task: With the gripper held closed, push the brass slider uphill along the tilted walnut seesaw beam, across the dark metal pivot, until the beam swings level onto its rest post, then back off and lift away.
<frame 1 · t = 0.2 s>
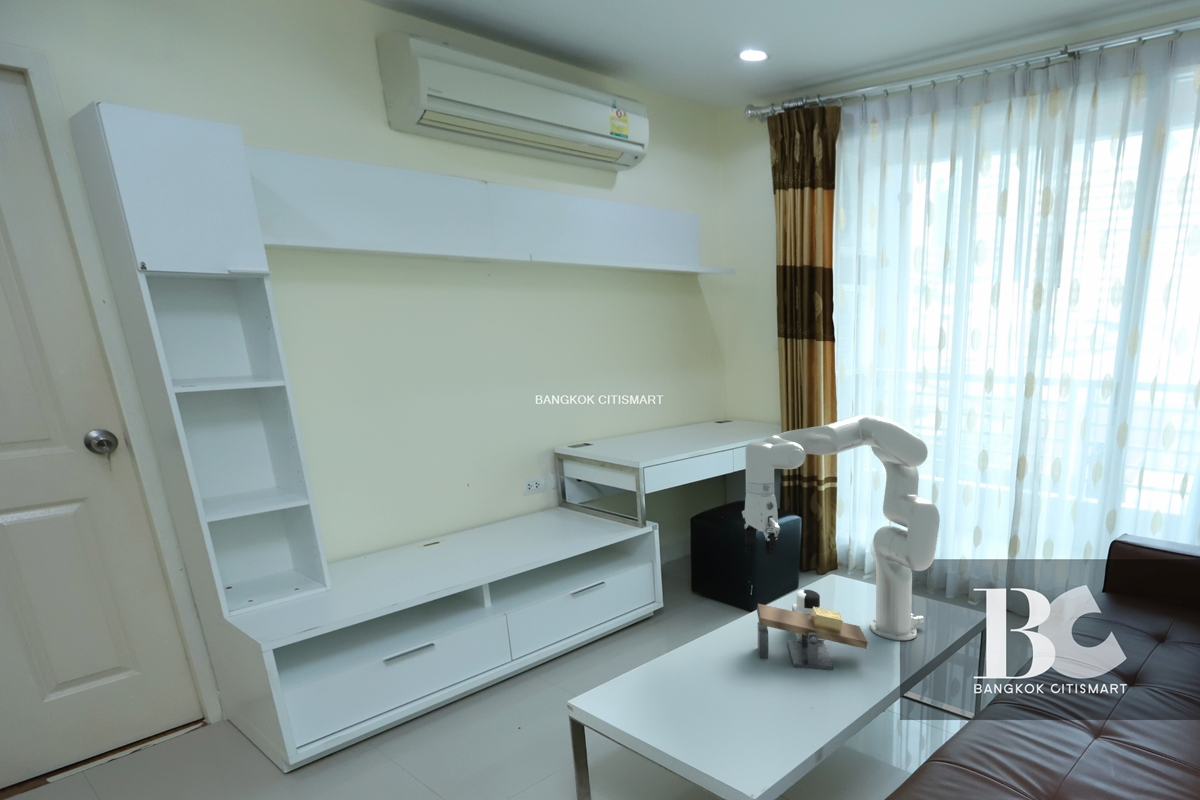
hand: (760, 548, 164), 31 cm above the table, fingers open, 9 cm apart
beam: (810, 625, 165), point 9 cm above the table, hinge at -10.6°, touching slider
stand: (809, 656, 166), on the table
slider: (825, 625, 164), point 9 cm above the table, tilted 11°, touching beam
container: (808, 634, 178), on the table
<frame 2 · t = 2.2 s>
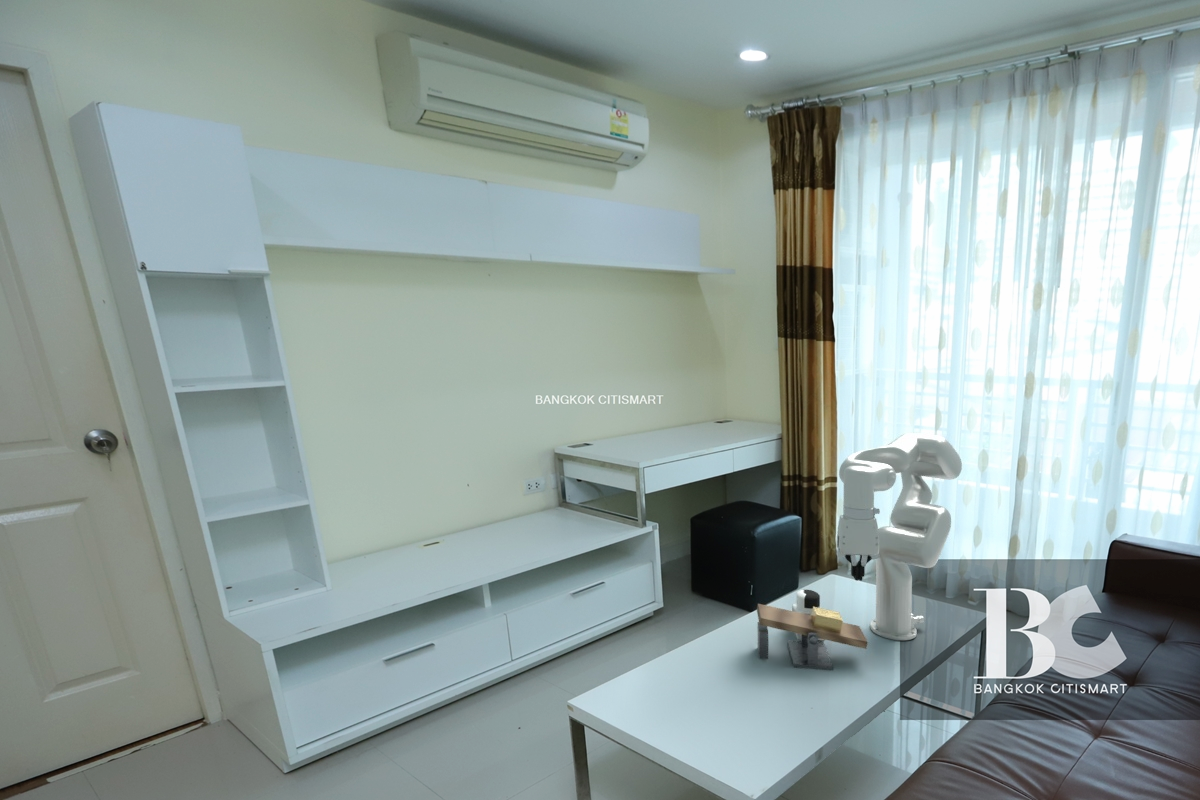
hand: (857, 578, 161), 23 cm above the table, fingers closed
nothing on the table moved.
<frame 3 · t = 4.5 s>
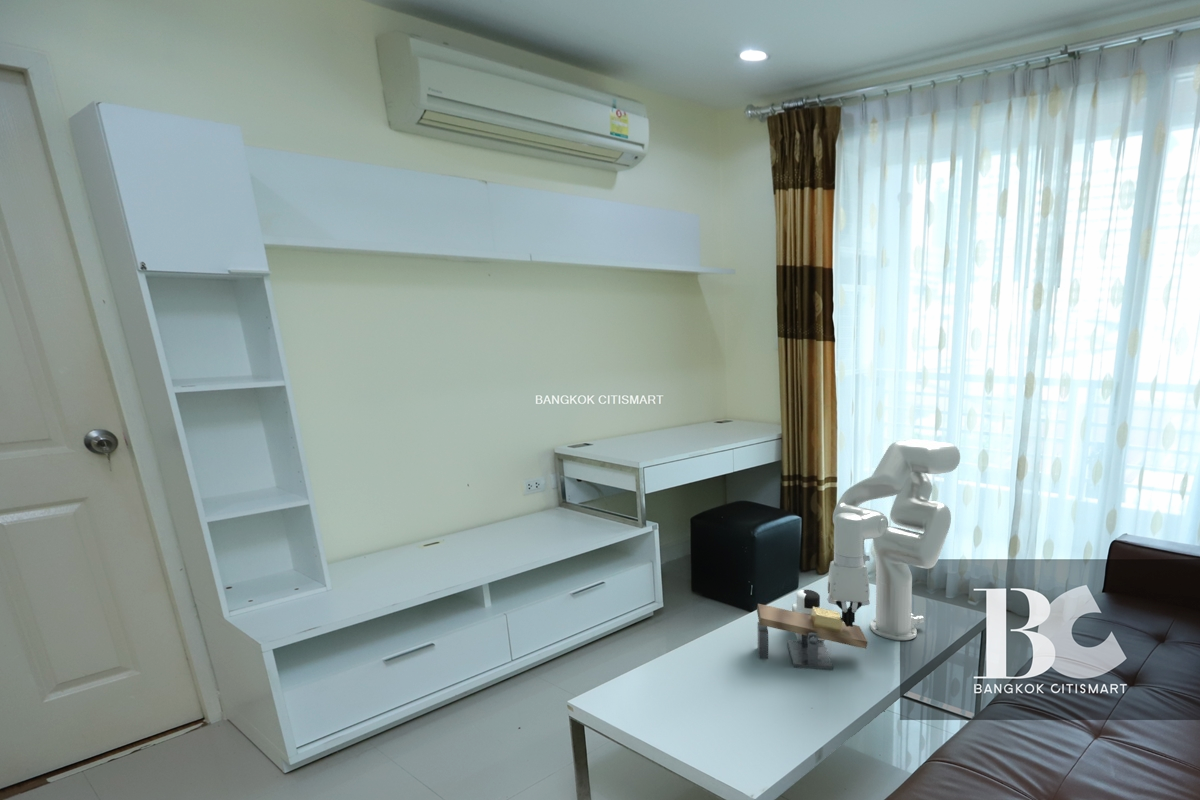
hand: (848, 624, 163), 10 cm above the table, fingers closed
slider: (825, 625, 164), point 9 cm above the table, tilted 11°, touching beam, gripper
everything else where it was.
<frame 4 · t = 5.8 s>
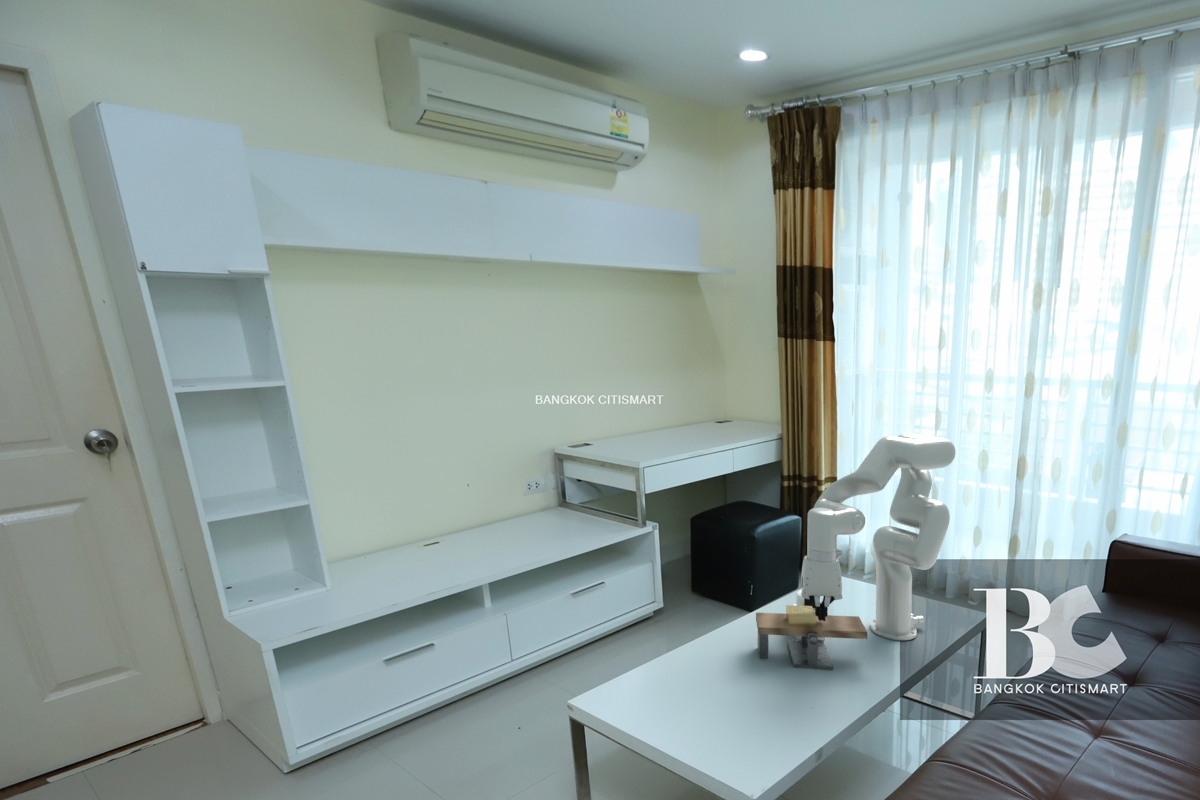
hand: (821, 618, 164), 11 cm above the table, fingers closed
beam: (809, 625, 165), point 9 cm above the table, hinge at 0.7°
slider: (800, 621, 165), point 10 cm above the table, touching gripper
everything else where it was.
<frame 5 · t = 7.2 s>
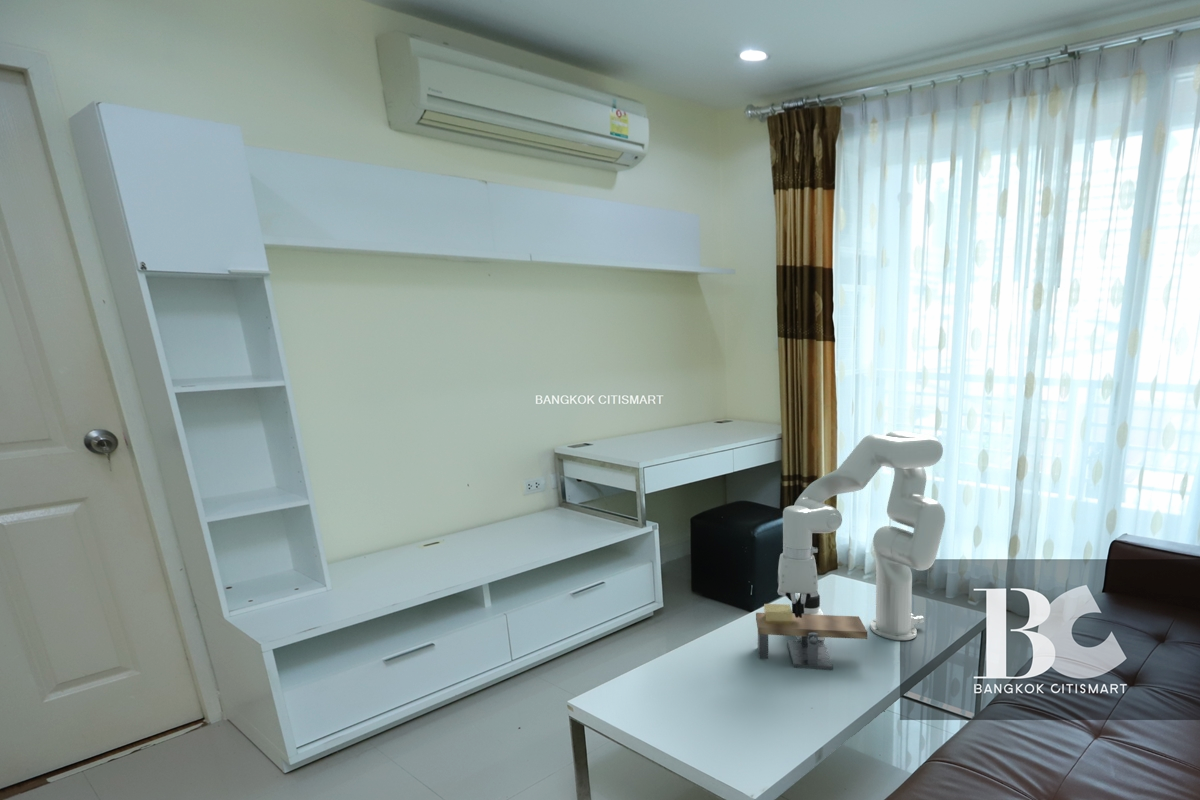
hand: (797, 615, 165), 12 cm above the table, fingers closed
beam: (809, 625, 165), point 9 cm above the table, hinge at 0.7°, touching slider
slider: (778, 620, 166), point 10 cm above the table, touching beam, gripper
everything else where it was.
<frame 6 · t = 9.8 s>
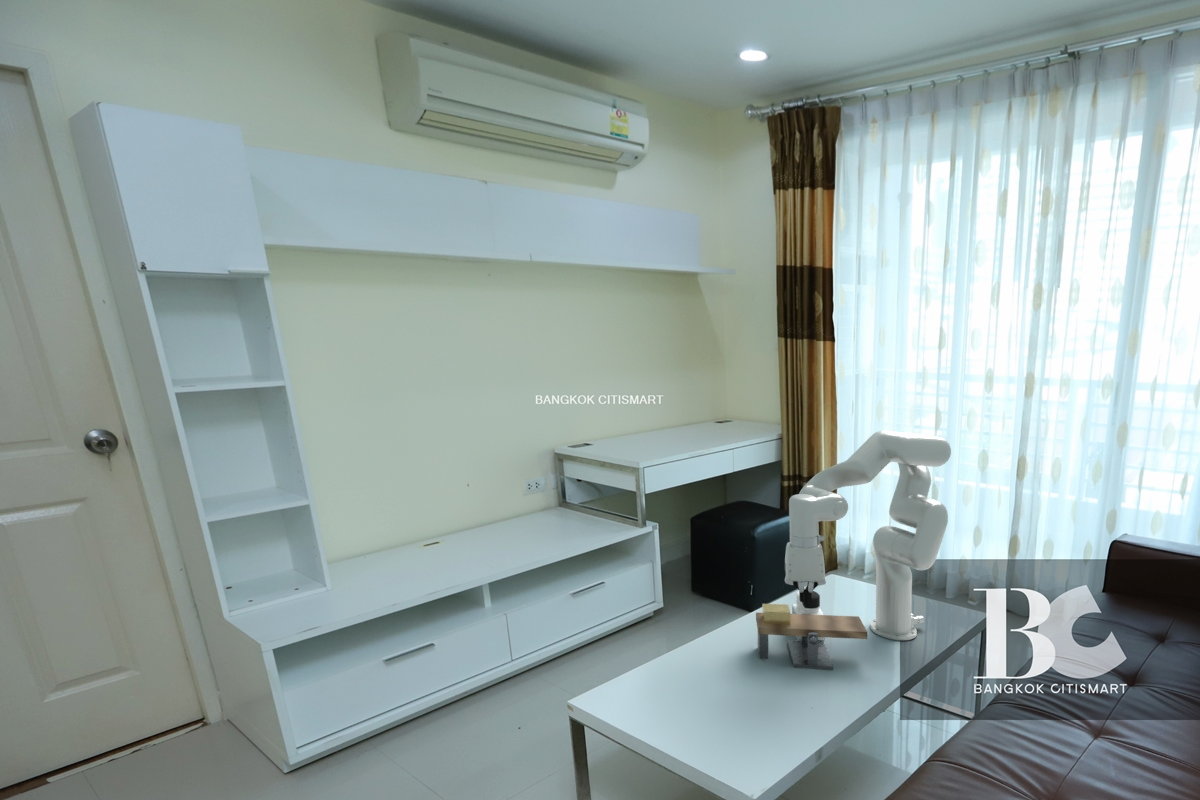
hand: (805, 604, 165), 15 cm above the table, fingers closed
slider: (776, 620, 166), point 10 cm above the table, touching beam
everything else where it was.
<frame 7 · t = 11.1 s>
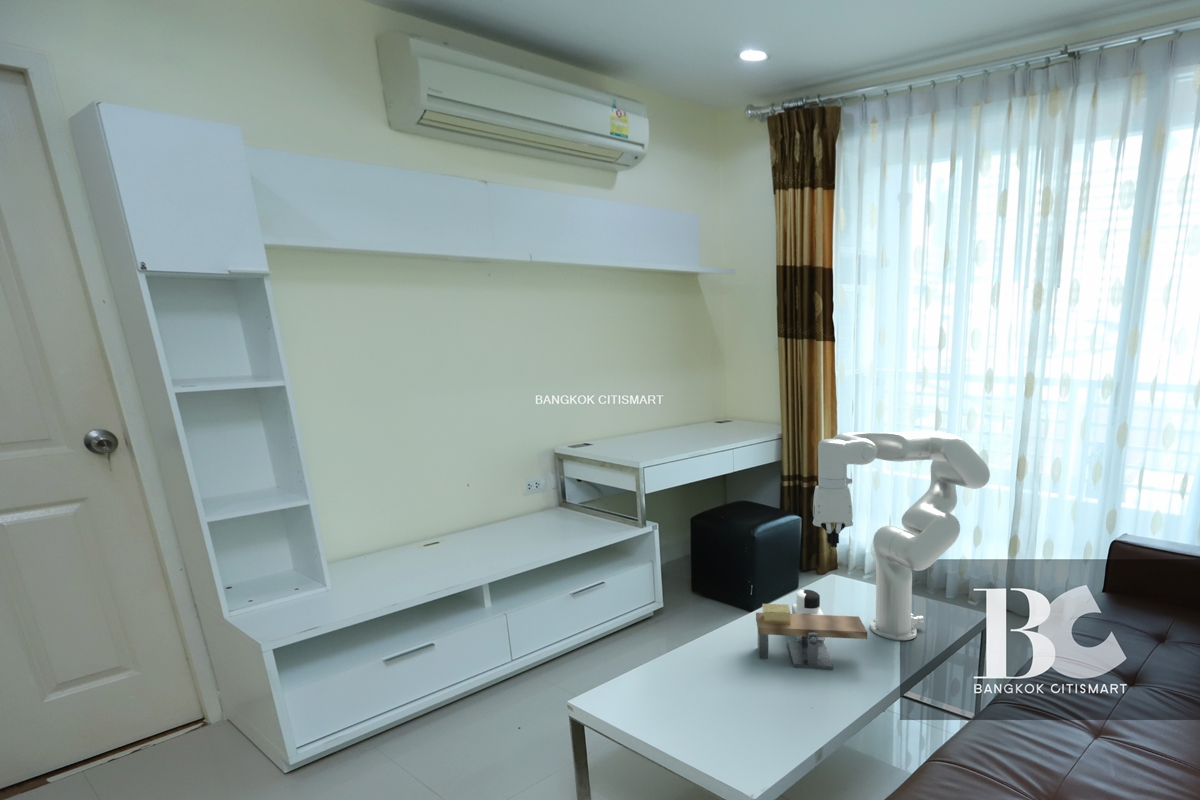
hand: (832, 545, 170), 29 cm above the table, fingers closed
nothing on the table moved.
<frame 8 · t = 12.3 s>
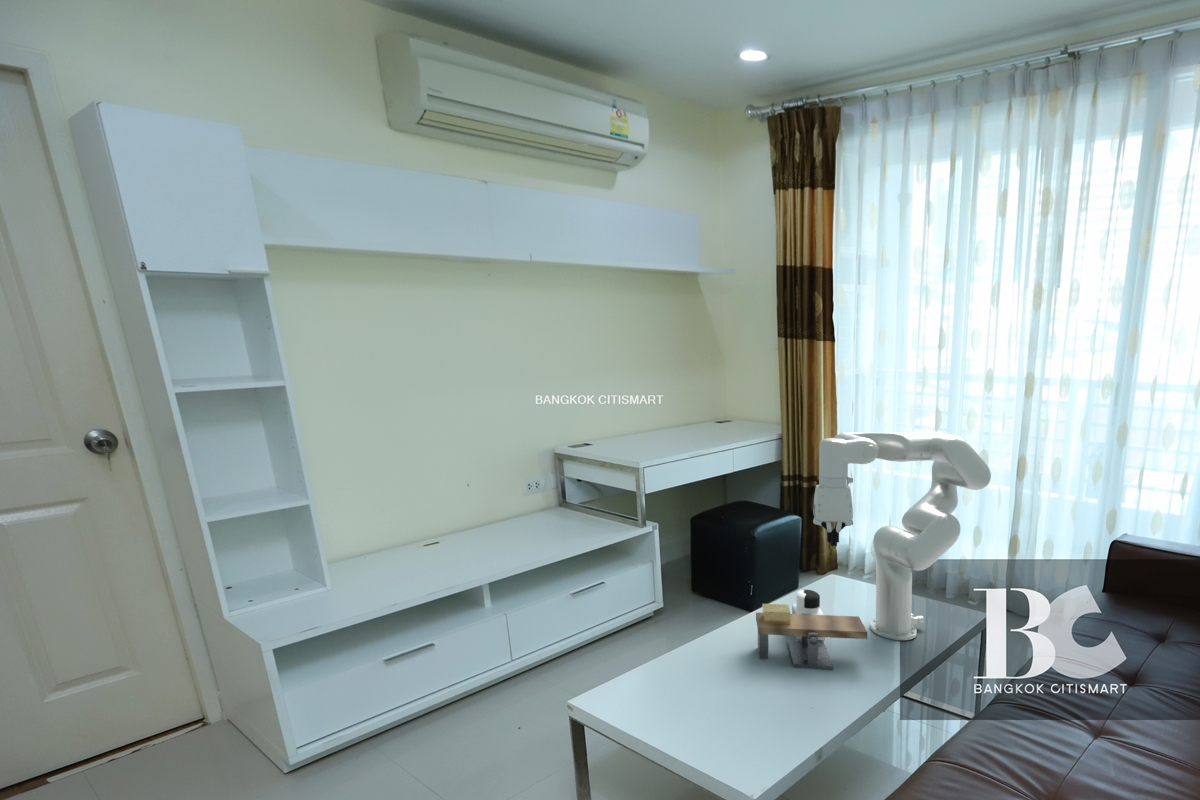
hand: (832, 544, 170), 29 cm above the table, fingers closed
nothing on the table moved.
at the end: beam at +1° (first picture: -11°); slider inside the target area on the beam (1.2 cm from its centre), point 1.9 cm above the beam's base; slider tilted 1° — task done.
